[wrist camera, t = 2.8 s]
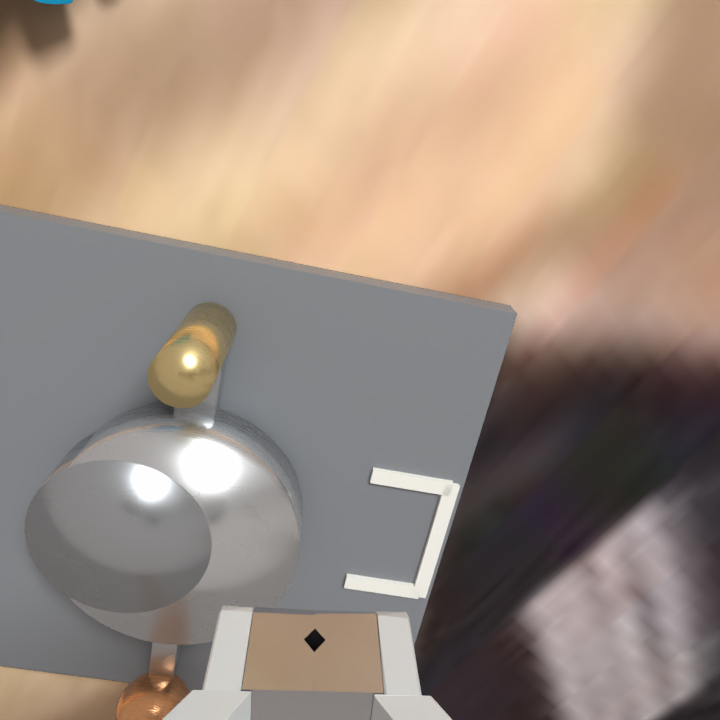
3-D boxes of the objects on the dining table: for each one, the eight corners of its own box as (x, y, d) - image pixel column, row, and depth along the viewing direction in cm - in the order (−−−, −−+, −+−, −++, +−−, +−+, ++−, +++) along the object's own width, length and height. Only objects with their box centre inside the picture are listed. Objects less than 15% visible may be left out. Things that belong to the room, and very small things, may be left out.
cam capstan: (342, 327, 22) (342, 379, 18) (261, 713, 29) (247, 818, 25) (64, 274, 21) (-5, 316, 17) (47, 686, 28) (-6, 790, 24)
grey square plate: (510, 305, 24) (518, 315, 23) (390, 697, 31) (392, 720, 30) (-85, 187, 22) (-109, 192, 20) (-67, 637, 29) (-83, 659, 28)
